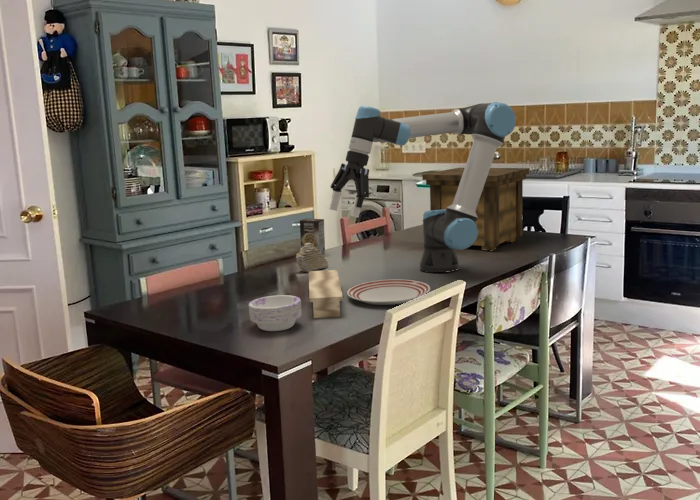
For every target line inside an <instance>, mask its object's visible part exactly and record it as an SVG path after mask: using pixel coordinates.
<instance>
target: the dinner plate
mask: <svg viewBox="0 0 700 500" xmlns="http://www.w3.org/2000/svg"><path fill="white" fill-rule="evenodd" d="M430 291H431V286H430V285H429V284H428V283H425V282H422V281H418V280H412V279H403V278H401V279H400V278H397V279H396V278H395V279H394V278H393V279H392V278H391V279H388V278H387V279H379V280H378V279H377V280H373V281H366V282H363V283H359V284H356V285H354V286H352V287H350V288H349V289H348V290H347V292H346V294H347V296H348V297H349V298H350V299H353V300H356V301H359V302H362V303H366V304H370V305H376V306H396V305H395V304H398V305H402V304H401V303H404V302H407V301H409V300H412V299H414V298H417V297H419V296H421V295H424V294H426V293H427V294H428V293H429V292H430ZM427 294H426V295H427ZM424 296H425V295H424ZM404 304H405V303H404Z"/></svg>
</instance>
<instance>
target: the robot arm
mask: <svg viewBox="0 0 700 500" xmlns="http://www.w3.org/2000/svg"><path fill="white" fill-rule="evenodd" d="M355 115H356V116H355V120H354V124H353V128H352V133H351V136H350V137H351V138H350V141H349V144H348V149H349V150H348V151H347V153H346V156H345V161H346V162H347V163H341V165H340V167H339V170H338V172H337V174H336V175H335V177H334V179H333V181H332V183H330V189H332V195H331V200H330V204H329V210H331V211H337V210H338V208H339V203H340V199H341V195H342V190H343V188H344V187H345V186H346V185H347V183H348V182H349V181H350V180H353V182H354V186H355V190H356V195H355V196H354V197H355V198H354V201H353V206H352V210H351V213H350V216H351V217H353V218H359V217H360V213H361V209H362V207H363V203H364V200H365V199H366V198H369V197H370V186H369V185H370V183H369V175H370V169H368V168H366V167H367V166H368V163H369V159H370V156H369V155H370V154H371V151H372V147H373V143H387V144H393V145H396V146H405V145H406V144H407V143H408V141H409V139H413V138H421V137H429V136H437V135H447V134H455V135H459V136H460V135H471V137H472V139H473V142H472V144H471V145H472V146H471V148H470V151H469V154H468V156H467V161H466V163H465V166H464V168H465V169H464V172H463V175H462V178H461V181H460V184H459V187H458V190H457V192H456V195H455V198H454V201H453V204H452V205H450V206H448V207H447V209H442V210H431V211H430V210H426V211H425V210H424V212H423V214H422V226H423V227H422V228H423V229H422V230H423V233H422V234H423V235H422V236H423V252H422V255H421V258H420V261H419V271H421V270H423V271H427V272H426V273H428V272H446V271H452V270H456V269H458V268H459V269H460V262H459V259H458V255H457V253H456V250H457V251H458V250H459V251H460V250H466V249H468V248H470V247H471V246H473V245H472V244H473V243H474V242H475V241H476V239H477V236H478V229H477V225H476V221H477V218H478V216H477V214H476V212H475V211H476V208H477V205H478V202H479V199H480V196H481V193H482V190H483V187H484V184H485V181H486V178H487V176H488V173H489V170H490V168H492V167H491V166H492V163H493V161H494V158H495V155H496V152H497V149H498V148H500V147H501V146H503V144H504V142H505V139H506V137H507V136H509V135H510V134H511V133H512V132H513V131H514V129H515V127H516V124H517V123H516V121H517V118H516V115H515V112H514V110H513V109H512V107H511V106H509V104H506V103H503V102H498V101H497V102H487V103H486V102H485V103H478V104H473V105H470V106H469V105H468V106H465V107H460V108H455V109H453V110H452V111H450V112H449V111H448V112H442V113H441V112H440V113H434V114H433V113H432V114H431V113H430V114H425V115H424V114H423V115H416V116H407V117H400V118H392V119H389V118H386V117H383V116H381V110H380V109H379V108H377V107H373V106H370V105H369V106H368V105H360V106H359V107H358V110H357V113H356V114H355ZM423 271H422V272H423Z"/></svg>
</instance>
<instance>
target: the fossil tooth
mask: <svg viewBox="0 0 700 500" xmlns="http://www.w3.org/2000/svg"><path fill="white" fill-rule="evenodd" d="M295 259H296V263H297V266H298V267H299V269H300V270H301V271H302V272H304V273H309V271H318V270H321V269H322V270H323V269H327V268H328V267H329V263H328V260H327V259H326V258H325V256H323V255H322V254H321V253H320V251H319V250H318V249H317V248H316V247H315V246H314V244H312V243H305V244H304V247H302V248H301V247H300V250H299V252H297V253H296V254H295Z"/></svg>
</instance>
